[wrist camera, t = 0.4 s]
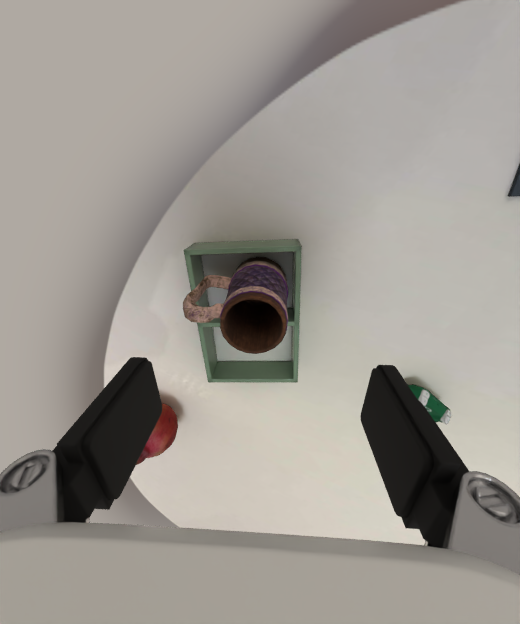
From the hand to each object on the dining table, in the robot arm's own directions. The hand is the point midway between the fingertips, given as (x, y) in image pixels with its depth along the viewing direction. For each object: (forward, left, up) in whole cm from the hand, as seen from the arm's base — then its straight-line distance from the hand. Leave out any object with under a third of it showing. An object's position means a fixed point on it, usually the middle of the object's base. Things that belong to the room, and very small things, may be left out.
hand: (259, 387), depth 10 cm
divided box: (+7, -3, -22) cm, 24 cm away
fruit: (+26, -20, -22) cm, 40 cm away
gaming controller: (+23, +22, -22) cm, 39 cm away
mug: (+3, -3, -22) cm, 23 cm away
